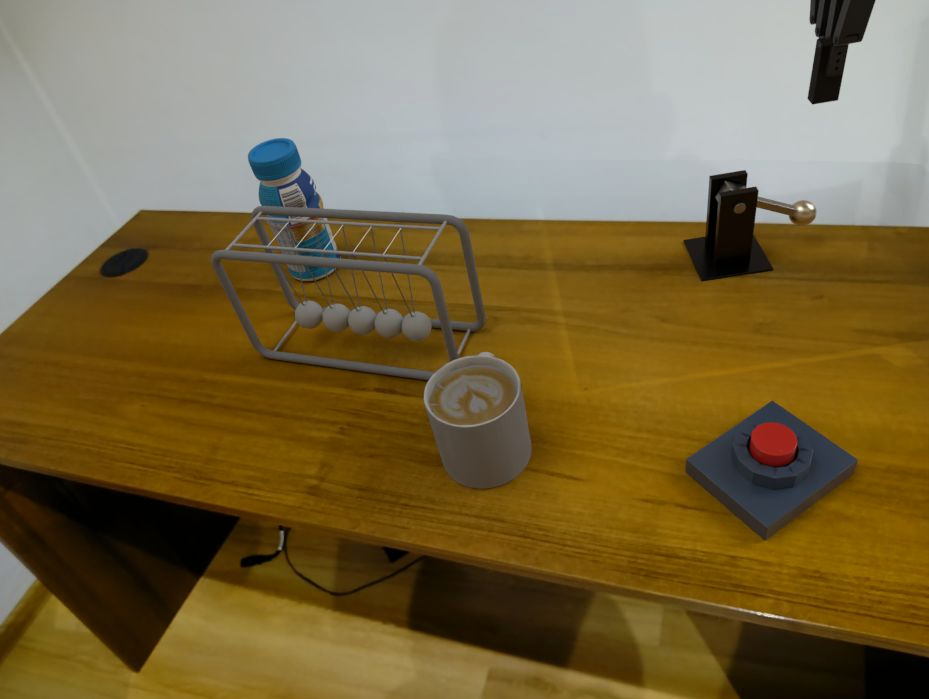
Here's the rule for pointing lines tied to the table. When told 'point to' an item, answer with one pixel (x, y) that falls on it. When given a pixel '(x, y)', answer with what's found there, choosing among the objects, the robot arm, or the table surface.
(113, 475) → the table surface
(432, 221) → the newton's cradle
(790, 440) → the button
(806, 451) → the button block
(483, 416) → the coffee mug
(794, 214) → the lever
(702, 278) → the bracket
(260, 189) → the beverage bottle
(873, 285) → the table surface
